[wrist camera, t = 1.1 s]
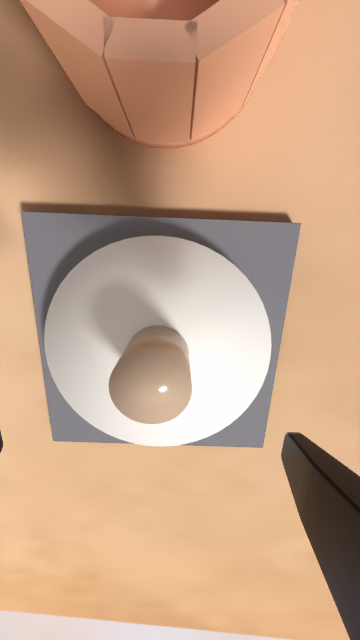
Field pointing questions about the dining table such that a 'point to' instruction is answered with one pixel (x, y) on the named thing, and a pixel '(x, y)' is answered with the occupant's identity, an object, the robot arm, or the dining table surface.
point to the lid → (157, 340)
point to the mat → (219, 235)
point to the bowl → (163, 60)
